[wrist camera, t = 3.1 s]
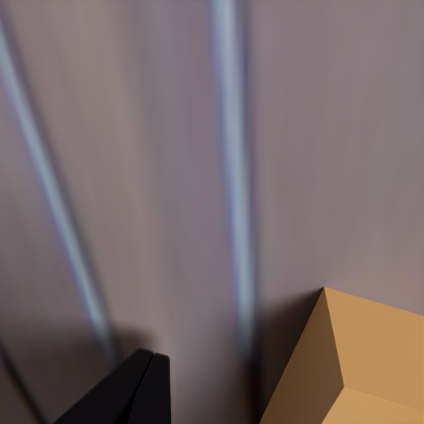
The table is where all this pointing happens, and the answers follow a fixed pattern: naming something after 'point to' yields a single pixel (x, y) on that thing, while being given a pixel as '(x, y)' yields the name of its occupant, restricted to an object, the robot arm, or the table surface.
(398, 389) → the orange stepped block
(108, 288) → the table surface
